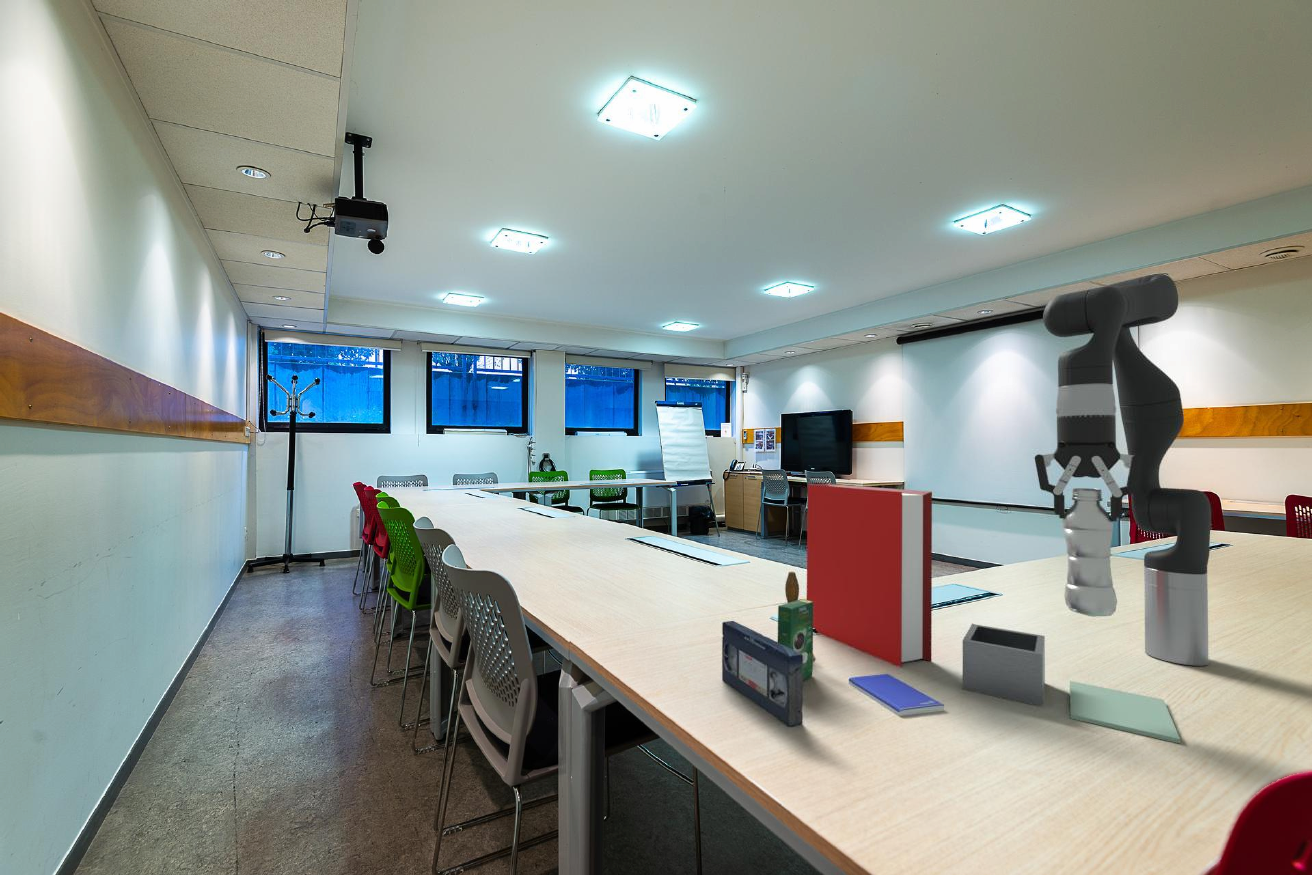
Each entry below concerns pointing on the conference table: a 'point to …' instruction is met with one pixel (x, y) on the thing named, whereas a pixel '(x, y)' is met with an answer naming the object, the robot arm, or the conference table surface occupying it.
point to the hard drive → (895, 694)
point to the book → (871, 569)
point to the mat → (1122, 711)
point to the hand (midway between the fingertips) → (1087, 519)
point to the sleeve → (1004, 664)
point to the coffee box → (797, 631)
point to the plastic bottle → (1089, 555)
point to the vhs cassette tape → (763, 672)
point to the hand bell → (792, 589)
